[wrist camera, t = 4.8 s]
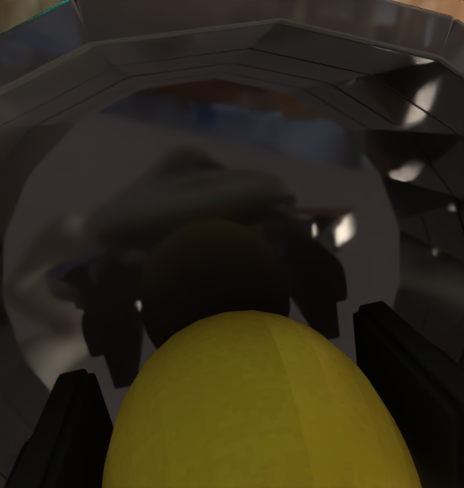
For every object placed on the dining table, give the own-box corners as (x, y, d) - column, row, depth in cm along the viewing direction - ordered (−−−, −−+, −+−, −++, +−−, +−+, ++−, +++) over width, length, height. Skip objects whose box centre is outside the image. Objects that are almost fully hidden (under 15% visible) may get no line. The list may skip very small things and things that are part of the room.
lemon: (93, 390, 11) (-70, 945, 4) (192, 224, 10) (244, 531, 3) (256, 454, 13) (375, 944, 5) (357, 315, 12) (690, 677, 4)
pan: (-71, 552, 13) (-196, 775, 8) (-100, -39, 8) (-404, -210, 4) (396, 546, 15) (480, 710, 11) (566, 110, 11) (813, 107, 7)
